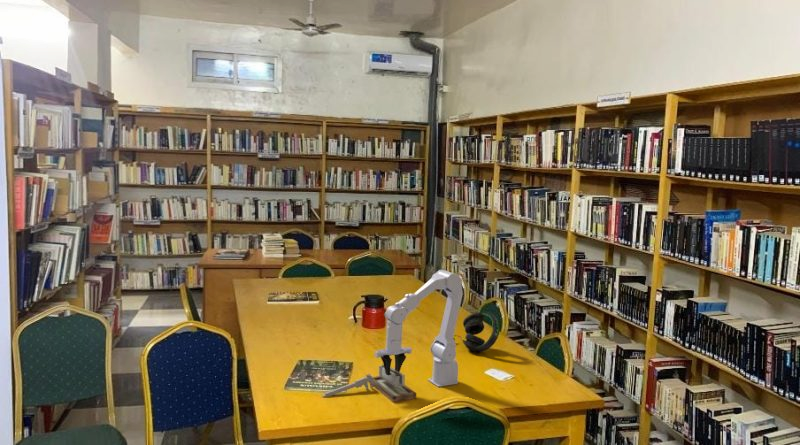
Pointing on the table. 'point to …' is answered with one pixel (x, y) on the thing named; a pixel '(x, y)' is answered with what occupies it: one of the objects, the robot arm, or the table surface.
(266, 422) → the table surface
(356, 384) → the caliper
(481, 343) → the headset
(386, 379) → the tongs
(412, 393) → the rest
